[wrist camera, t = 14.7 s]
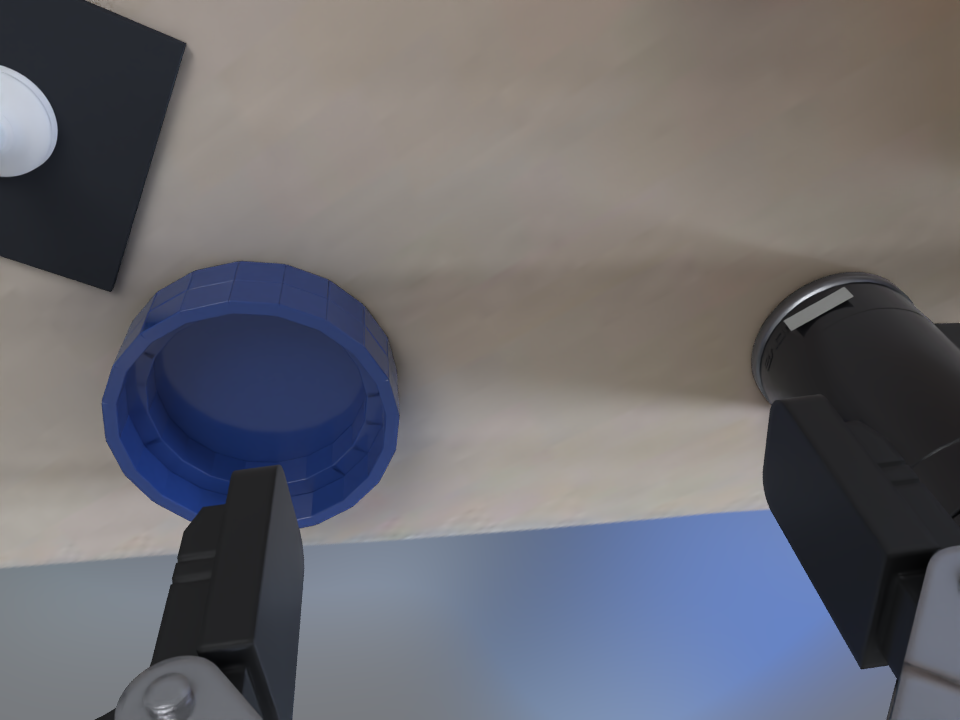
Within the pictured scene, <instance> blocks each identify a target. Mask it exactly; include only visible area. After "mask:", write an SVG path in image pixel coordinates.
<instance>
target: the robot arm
mask: <svg viewBox="0 0 960 720" xmlns="http://www.w3.org/2000/svg"><path fill="white" fill-rule="evenodd" d="M752 372H753V376H754V379H755V381H756V384H757V385H758V387H759V389H760V390H761V392H762V393H763V395H764V396H765V398H766V399H767V400H768V402H769V403H770V404H771V409H770V415H769V423H768V432H767V440H766V449H765V457H764V466H763V486H764V492H765V496H766V500H767V503H768V505H769V508H770V510H771V512H772V513H773V515H774V517H775V519H776V520H777V522H778V524H779V526H780V528H781V529H782V531H783V533H784V535H785V536H786V538H787V539H788V542H789V543H790V545H791V547H792V549H793V550H794V552H795V554H796V556H797V557H798V559H799V561H800V563H801V565H802V566H803V568H804V570H805V571H806V573H807V575H808V577H809V579H810V580H811V582H812V584H813V586H814V587H815V589H816V591H817V593H818V594H819V596H820V598H821V600H822V601H823V603H824V605H825V607H826V609H827V610H828V612H829V614H830V616H831V617H832V619H833V621H834V623H835V624H836V626H837V628H838V630H839V631H840V633H841V635H842V637H843V638H844V640H845V642H846V644H847V645H848V647H849V649H850V651H851V652H852V654H853V656H854V658H855V660H856V661H857V663H858V665H859V667H860V668H861V669H867V668H874V667H880V666H887V665H889V667H890V668H891V670H892V672H893V673H894V675H895V676H896V678H897V680H896V684H895V688H894V692H893V695H892V699H891V703H890V708H889V712H888V716H887V720H960V323H943V324H933V323H932V322H931V321H930V320H929V319H928V318H927V317H926V316H925V315H924V314H923V313H922V312H921V311H920V310H919V309H917V308H916V307H915V306H914V304H913V302H912V301H911V300H910V299H909V297H908V296H906V295H905V294H904V293H903V292H902V291H901V290H900V289H899V288H898V287H897V286H896V285H895V284H893V283H892V282H890V281H889V280H887V279H885V278H883V277H880V276H878V275H874V274H870V273H863V272H846V273H838V274H834V275H830V276H826V277H823V278H820V279H818V280H815V281H813V282H811V283H809V284H807V285H805V286H803V287H801V288H800V289H798V290H797V291H795V292H794V293H792V294H791V295H789V296H788V297H787V298H786V299H784V300H783V301H782V302H781V303H780V304H779V305H778V306H777V307H776V308H775V309H774V310H773V311H772V313H771V314H770V315H769V316H768V318H767V319H766V321H765V322H764V324H763V325H762V327H761V329H760V331H759V333H758V335H757V337H756V340H755V343H754V346H753V351H752ZM177 559H178V563H176V565H175V569H174V573H173V577H172V582H173V584H172V585H171V586H170V589H169V593H168V598H167V601H166V605H165V610H164V614H163V617H162V622H161V626H160V630H159V634H158V638H157V642H156V646H155V650H154V654H153V658H152V662H151V665H150V667H149V668H147V669H146V670H145V671H143V672H142V673H140V674H139V675H138V676H137V677H136V678H135V679H134V680H133V681H131V683H130V684H129V685H128V686H127V687H126V689H125V690H124V692H123V694H122V695H121V697H120V699H119V701H118V704H117V706H116V708H115V709H114V710H112V711H110V712H109V713H107V714H105V715H104V716H101V717H99V718H97V719H95V720H292V715H293V703H294V691H295V678H296V666H297V653H298V640H299V629H300V616H301V604H302V590H303V577H304V555H303V545H302V539H301V534H300V530H299V526H298V523H297V519H296V515H295V511H294V507H293V504H292V500H291V496H290V492H289V488H288V485H287V481H286V477H285V474H284V471H283V468H282V466H281V465H272V466H265V467H257V468H250V469H242V470H235V471H233V472H232V475H231V479H230V484H229V489H228V494H227V499H226V504H221V505H214V506H206V507H202V509H201V510H200V511H199V513H198V514H197V515H196V517H195V518H194V519H193V520H192V522H191V523H190V524H189V526H188V527H187V528H186V530H185V531H184V533H183V537H182V541H181V545H180V549H179V553H178V558H177Z"/></svg>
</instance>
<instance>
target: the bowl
mask: <svg viewBox="0 0 960 720" xmlns="http://www.w3.org/2000/svg"><path fill="white" fill-rule="evenodd" d="M101 404H102V412H103V421H104V430H105V438H106V442H107V444H108V445H109V447H110V449H111V451H112V453H113V455H114V457H115V458H116V460H117V462H118V464H119V466H120V468H121V470H122V472H123V473H124V474H125V476H126V477H127V478H128V479H129V480H131V481H132V482H133V483H134V484H135V485H136V486H137V487H138V488H139V489H140V490H141V491H142V492H143V493H144V494H145V495H146V496H147V497H149V498H150V499H151V500H152V501H153V502H155V503H156V504H158V505H160V506H162V507H164V508H166V509H168V510H170V511H171V512H173V513H175V514H177V515H179V516H181V517H183V518H185V519H187V520H188V521H192V520H193V519H194V518H195V517H196V515H197V514H198V513H199V511H200V510H201V509H202V507H206V506H214V505H221V504H226V499H227V494H228V489H229V484H230V479H231V475H232V472H233V471H235V470H242V469H250V468H257V467H265V466H272V465H281V466H282V468H283V471H284V474H285V477H286V481H287V485H288V488H289V492H290V496H291V500H292V504H293V507H294V511H295V515H296V519H297V523H298V526H299V528H304V527H309V526H313V525H316V524H319V523H321V522H323V521H325V520H327V519H329V518H331V517H333V516H335V515H337V514H339V513H341V512H343V511H345V510H347V509H349V508H351V507H353V506H354V505H355V504H356V503H357V502H358V501H359V500H360V499H362V498H363V497H364V496H365V495H366V494H367V493H368V492H369V491H370V490H371V489H372V488H373V487H374V486H376V485H377V484H378V483H379V481H380V480H381V478H382V476H383V474H384V472H385V470H386V468H387V466H388V464H389V462H390V460H391V459H392V457H393V455H394V453H395V450H396V445H397V436H398V426H399V416H400V415H399V397H398V380H397V369H396V365H395V362H394V358H393V355H392V351H391V348H390V344H389V341H388V338H387V336H386V335H385V333H384V332H383V330H382V329H381V328H380V326H379V325H378V324H377V322H376V321H375V319H374V318H373V317H372V315H371V314H370V313H369V311H368V310H367V308H366V307H365V306H363V304H362V303H360V302H359V301H358V300H356V299H355V298H353V297H352V296H351V295H349V294H348V293H347V292H345V291H344V290H342V289H341V288H340V287H338V286H337V285H336V284H334V283H333V282H331V281H330V280H328V279H326V278H323V277H320V276H318V275H315V274H312V273H309V272H306V271H304V270H301V269H298V268H295V267H292V266H290V265H286V264H277V263H263V262H248V261H237V262H232V263H228V264H223V265H218V266H214V267H209V268H205V269H200V270H196V271H193V272H191V273H189V274H188V275H186V276H184V277H182V278H181V279H179V280H177V281H175V282H174V283H172V284H170V285H168V286H167V287H165V288H163V289H161V290H160V291H158V292H157V293H156V294H155V295H154V296H153V297H152V298H151V300H150V301H149V302H148V303H147V304H146V306H145V307H144V308H143V309H142V310H141V312H140V313H139V314H138V315H137V316H136V318H135V319H134V320H133V321H132V323H131V325H130V327H129V330H128V332H127V334H126V336H125V339H124V341H123V343H122V345H121V348H120V350H119V352H118V355H117V357H116V359H115V361H114V364H113V366H112V369H111V372H110V375H109V379H108V382H107V385H106V388H105V392H104V395H103V398H102V403H101Z"/></svg>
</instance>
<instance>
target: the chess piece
mask: <svg viewBox="0 0 960 720" xmlns="http://www.w3.org/2000/svg"><path fill="white" fill-rule="evenodd" d="M57 134H58V128H57V121H56V117H55V114H54V111H53V109H52V107H51V105H50V103H49V101H48V100H47V98H46V97H45V95H44V94H43V93H42V92H41V90H40V89H39V88H38V87H37V86H36V85H35V84H34V83H33V82H31V81H30V80H29V79H27V78H26V77H25V76H23V75H22V74H20V73H18V72H16V71H14V70H12V69H10V68H7V67H4V66H1V65H0V177H12V176H19V175H22V174H25V173H28V172H30V171H32V170H34V169H35V168H37V167H39V166H40V165H42V164H43V163H44V162H45V161H46V160H47V159H48V158H49V157H50V155H51V154H52V152H53V150H54V148H55V145H56V142H57Z"/></svg>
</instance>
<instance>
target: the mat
mask: <svg viewBox="0 0 960 720" xmlns="http://www.w3.org/2000/svg"><path fill="white" fill-rule="evenodd" d="M185 46H186V43H184V42H182V41H180V40H177V39H175V38H173V37H170V36H168V35H166V34H163V33H161V32H159V31H156V30H154V29H151V28H149V27H147V26H144V25H142V24H140V23H137V22H135V21H133V20H130V19H128V18H125V17H123V16H121V15H118V14H116V13H114V12H111V11H109V10H107V9H104V8H102V7H99V6H97V5H95V4H92V3H90V2H88V1H85V0H0V65H1V66H4V67H7V68H10V69H12V70H14V71H16V72H18V73H20V74H22V75H23V76H25V77H26V78H27V79H29V80H30V81H31V82H33V83H34V84H35V85H36V86H37V87H38V88H39V89H40V90H41V92H42V93H43V94H44V95H45V97H46V98H47V100H48V101H49V103H50V105H51V107H52V109H53V111H54V114H55V117H56V121H57V128H58V134H57V142H56V145H55V148H54V150H53V152H52V154H51V155H50V157H49V158H48V159H47V160H46V161H45V162H44V163H43V164H42V165H40V166H39V167H37V168H35V169H34V170H32V171H30V172H28V173H25V174H22V175H19V176H12V177H0V256H2V257H5V258H8V259H11V260H14V261H18V262H21V263H24V264H27V265H30V266H33V267H36V268H39V269H42V270H45V271H48V272H51V273H54V274H57V275H61V276H64V277H67V278H70V279H73V280H76V281H79V282H82V283H85V284H88V285H91V286H94V287H97V288H100V289H104V290H107V291H110V292H111V291H112V290H113V288H114V285H115V282H116V278H117V275H118V271H119V268H120V265H121V261H122V258H123V255H124V251H125V248H126V245H127V241H128V238H129V235H130V231H131V228H132V224H133V221H134V218H135V214H136V211H137V208H138V204H139V201H140V198H141V194H142V191H143V188H144V184H145V181H146V177H147V174H148V171H149V167H150V164H151V161H152V157H153V154H154V151H155V147H156V144H157V140H158V137H159V134H160V130H161V127H162V124H163V120H164V117H165V114H166V110H167V107H168V104H169V100H170V97H171V93H172V90H173V87H174V83H175V80H176V77H177V73H178V70H179V67H180V63H181V60H182V56H183V53H184V50H185Z"/></svg>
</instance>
